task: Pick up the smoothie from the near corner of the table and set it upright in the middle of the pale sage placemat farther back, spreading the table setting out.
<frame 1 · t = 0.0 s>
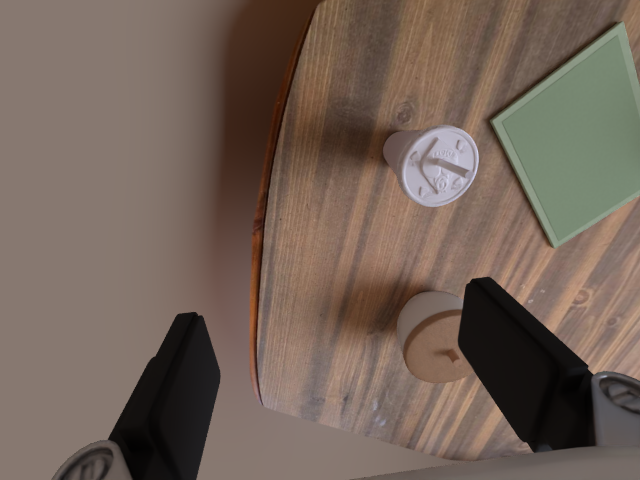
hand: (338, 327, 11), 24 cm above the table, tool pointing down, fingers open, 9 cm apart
trinket box: (423, 308, 43), on the table
smoothie: (399, 149, 33), on the table
placemat: (580, 151, 35), on the table
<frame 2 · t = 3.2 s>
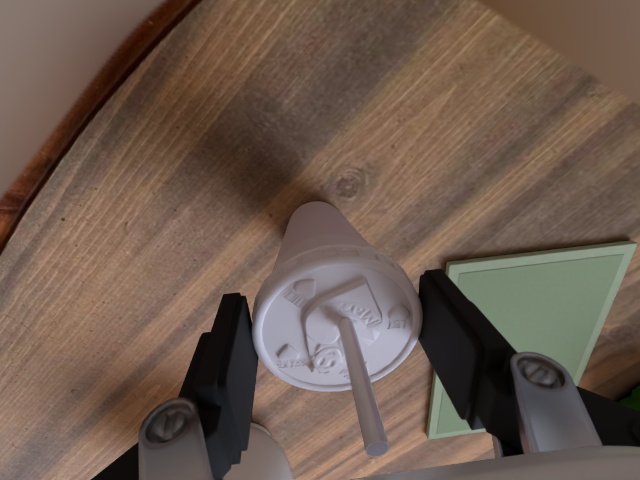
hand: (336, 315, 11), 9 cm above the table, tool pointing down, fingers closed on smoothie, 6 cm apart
trinket box: (239, 439, 28), on the table
smoothie: (316, 227, 20), on the table, touching gripper
placemat: (513, 352, 26), on the table
bell pepper: (635, 396, 31), on the table
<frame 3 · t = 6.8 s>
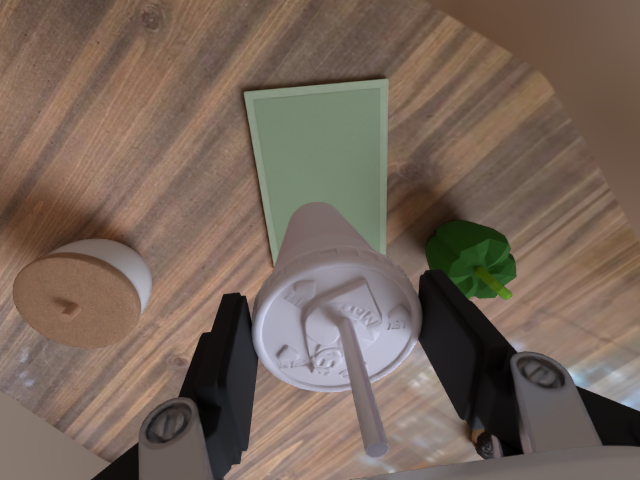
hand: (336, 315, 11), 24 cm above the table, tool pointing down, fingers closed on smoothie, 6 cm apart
trinket box: (118, 265, 36), on the table
smoothie: (316, 227, 20), point 15 cm above the table, touching gripper
placemat: (324, 185, 34), on the table
donut: (499, 425, 57), on the table
bell pepper: (446, 241, 39), on the table
when the fingers open (10 cm above the table, at t = 10.6 s): smoothie stays where it is, resting on placemat.
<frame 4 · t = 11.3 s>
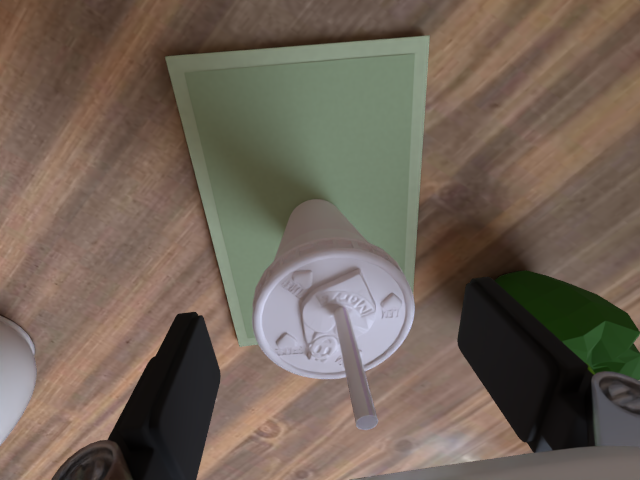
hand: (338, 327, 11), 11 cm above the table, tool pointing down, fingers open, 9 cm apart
smoothie: (315, 224, 21), resting on placemat
placemat: (315, 218, 21), on the table
bell pepper: (502, 298, 25), on the table
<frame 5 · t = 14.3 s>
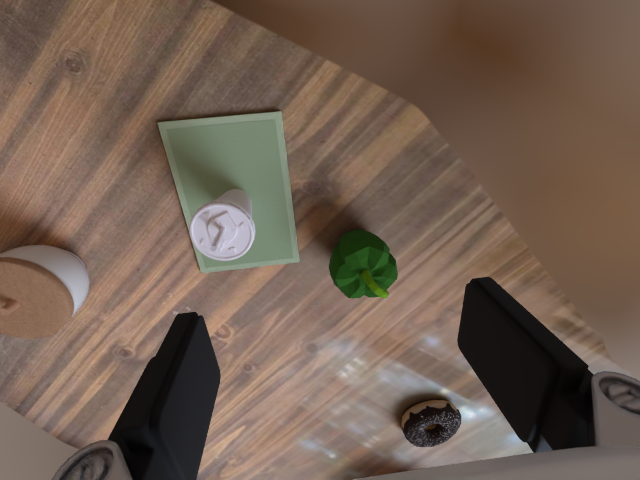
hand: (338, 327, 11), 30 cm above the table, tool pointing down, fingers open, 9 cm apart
trinket box: (63, 267, 41), on the table
smoothie: (237, 202, 39), resting on placemat
placemat: (237, 199, 39), on the table
donut: (427, 413, 62), on the table
bell pepper: (353, 247, 44), on the table
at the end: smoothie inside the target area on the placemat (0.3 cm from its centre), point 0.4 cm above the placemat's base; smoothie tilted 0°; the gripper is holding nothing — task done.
